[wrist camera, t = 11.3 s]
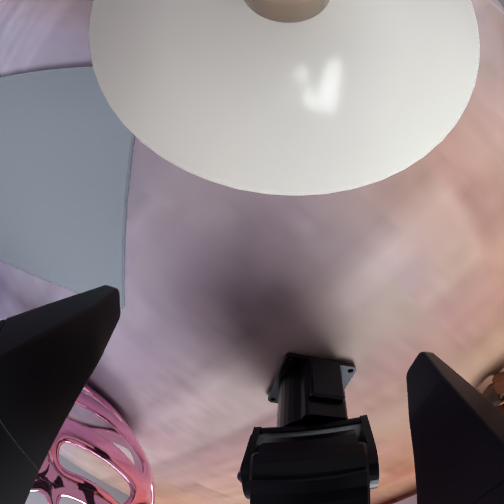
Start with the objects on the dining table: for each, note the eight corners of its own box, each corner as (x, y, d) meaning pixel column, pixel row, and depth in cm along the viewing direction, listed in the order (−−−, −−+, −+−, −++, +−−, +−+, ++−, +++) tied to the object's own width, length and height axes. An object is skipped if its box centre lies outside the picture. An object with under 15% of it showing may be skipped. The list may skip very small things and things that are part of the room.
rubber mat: (124, 305, 24) (121, 308, 24) (-9, 253, 24) (-12, 254, 24) (147, 67, 16) (144, 66, 16) (-10, 80, 17) (-13, 80, 16)
